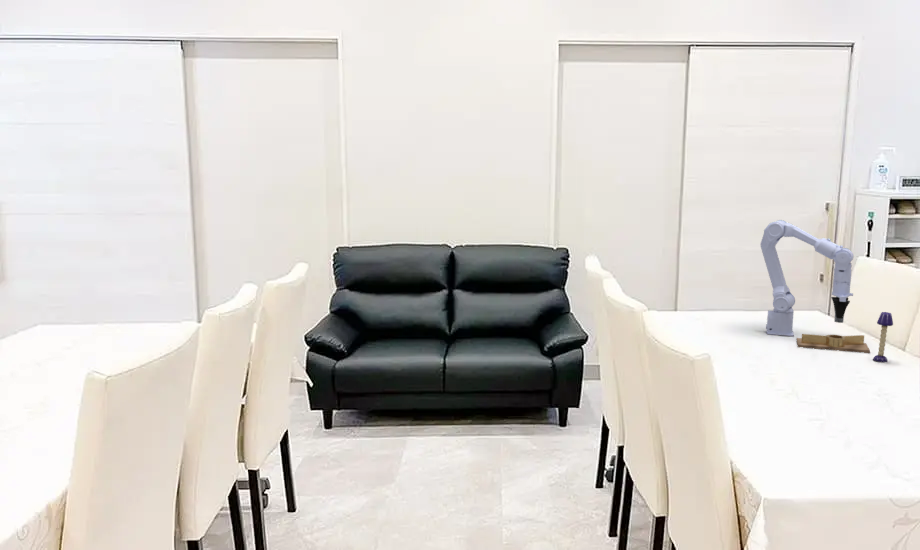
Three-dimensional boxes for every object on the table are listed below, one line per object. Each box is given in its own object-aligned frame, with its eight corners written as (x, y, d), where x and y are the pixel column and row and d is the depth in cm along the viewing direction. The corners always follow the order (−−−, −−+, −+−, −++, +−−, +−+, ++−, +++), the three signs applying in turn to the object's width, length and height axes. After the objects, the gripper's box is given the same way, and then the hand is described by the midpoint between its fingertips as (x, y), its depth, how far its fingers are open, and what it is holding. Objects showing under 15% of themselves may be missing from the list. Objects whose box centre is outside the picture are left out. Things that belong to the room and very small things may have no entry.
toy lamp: (885, 359, 248) (889, 311, 246) (892, 363, 244) (896, 314, 241) (870, 358, 249) (874, 311, 246) (877, 362, 244) (881, 314, 242)
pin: (834, 322, 272) (836, 303, 271) (833, 320, 274) (835, 302, 273) (843, 322, 271) (845, 304, 269) (842, 321, 273) (844, 302, 272)
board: (797, 347, 264) (797, 344, 264) (796, 340, 274) (796, 337, 274) (869, 353, 256) (869, 350, 256) (865, 346, 265) (865, 343, 265)
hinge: (801, 344, 264) (802, 336, 264) (800, 338, 272) (801, 330, 272) (866, 349, 257) (867, 341, 256) (863, 343, 265) (864, 335, 264)
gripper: (856, 285, 262) (853, 322, 264) (851, 278, 275) (848, 314, 277) (834, 284, 265) (831, 320, 267) (830, 277, 278) (828, 312, 280)
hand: (839, 317), depth 272 cm, fingers closed on pin, 3 cm apart
